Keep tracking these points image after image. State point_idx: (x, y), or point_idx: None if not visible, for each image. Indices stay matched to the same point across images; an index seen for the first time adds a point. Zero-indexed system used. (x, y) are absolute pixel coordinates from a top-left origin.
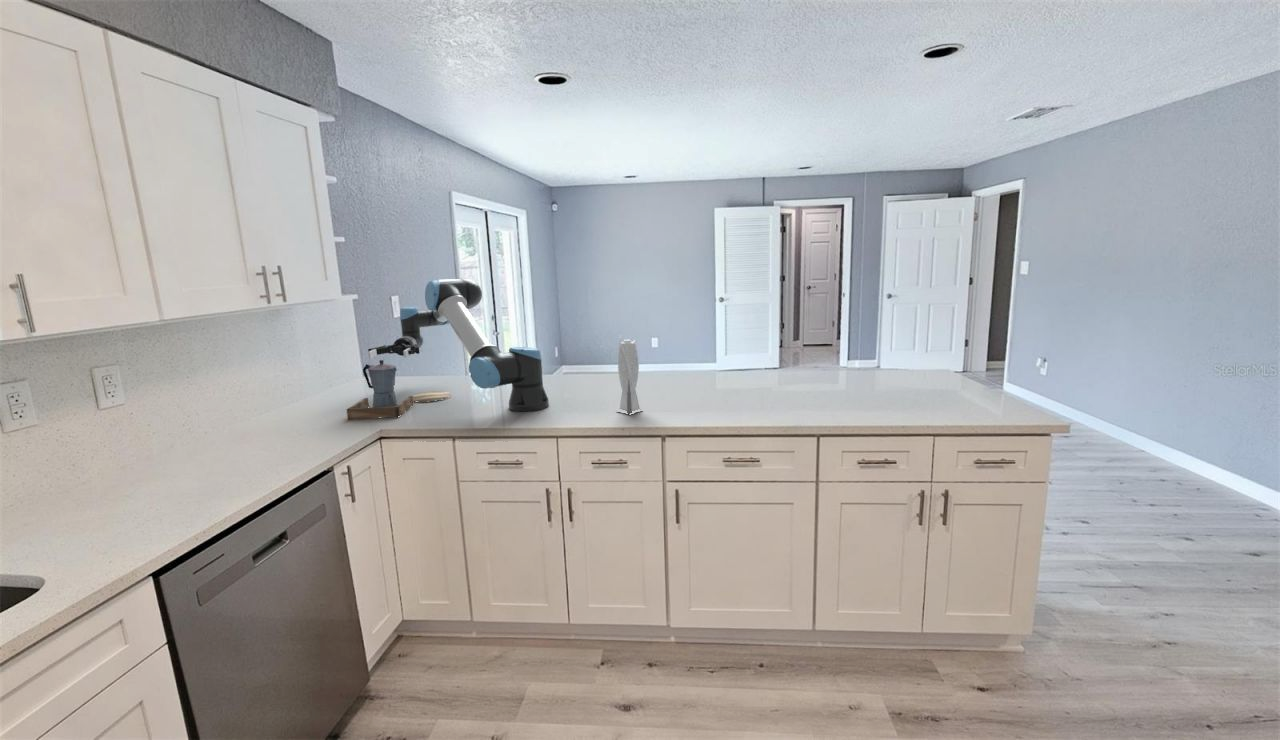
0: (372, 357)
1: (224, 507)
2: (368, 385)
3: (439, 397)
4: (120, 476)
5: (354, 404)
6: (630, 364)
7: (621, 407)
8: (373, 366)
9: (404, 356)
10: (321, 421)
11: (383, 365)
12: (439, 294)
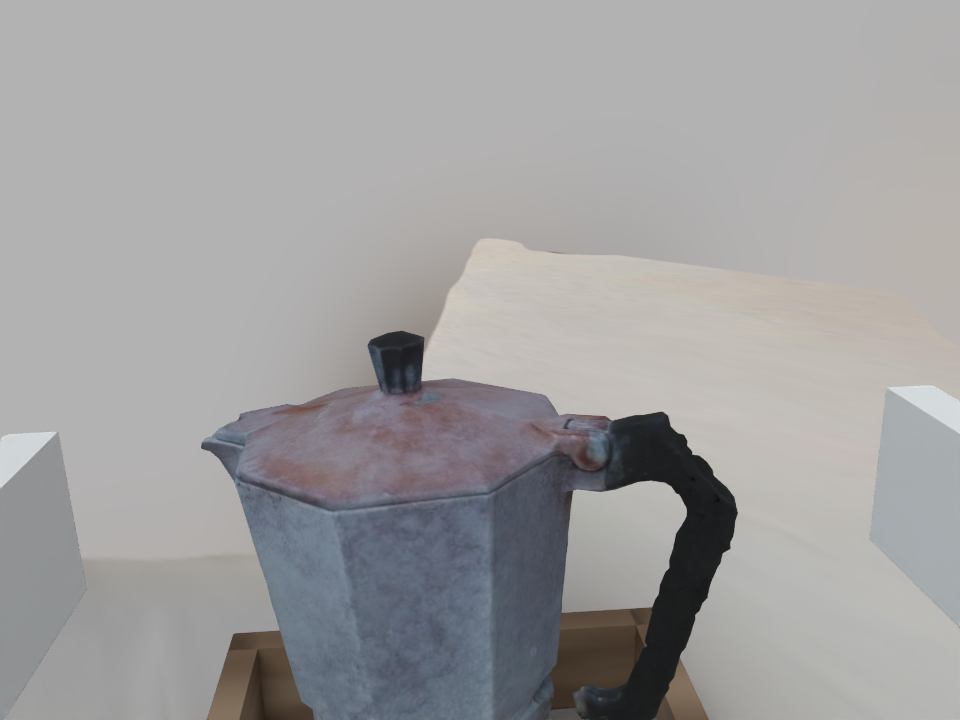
0: (930, 591)
1: (480, 301)
2: (653, 684)
3: None
4: (935, 345)
5: (704, 712)
6: None
7: None
8: (509, 403)
9: (68, 569)
10: (846, 667)
11: (369, 391)
12: None
